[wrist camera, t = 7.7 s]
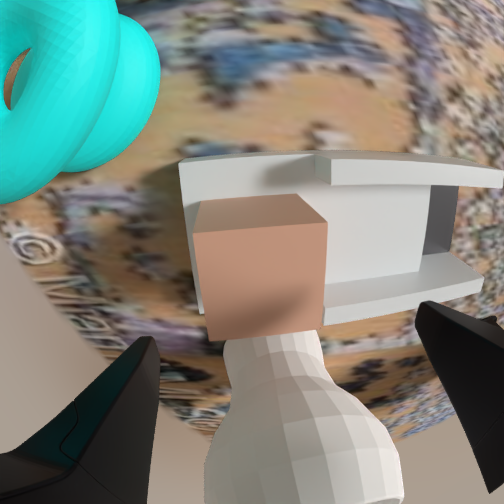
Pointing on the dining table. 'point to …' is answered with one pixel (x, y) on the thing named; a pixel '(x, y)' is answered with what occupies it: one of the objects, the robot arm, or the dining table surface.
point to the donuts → (70, 89)
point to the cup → (296, 432)
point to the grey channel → (358, 219)
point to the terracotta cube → (260, 265)
